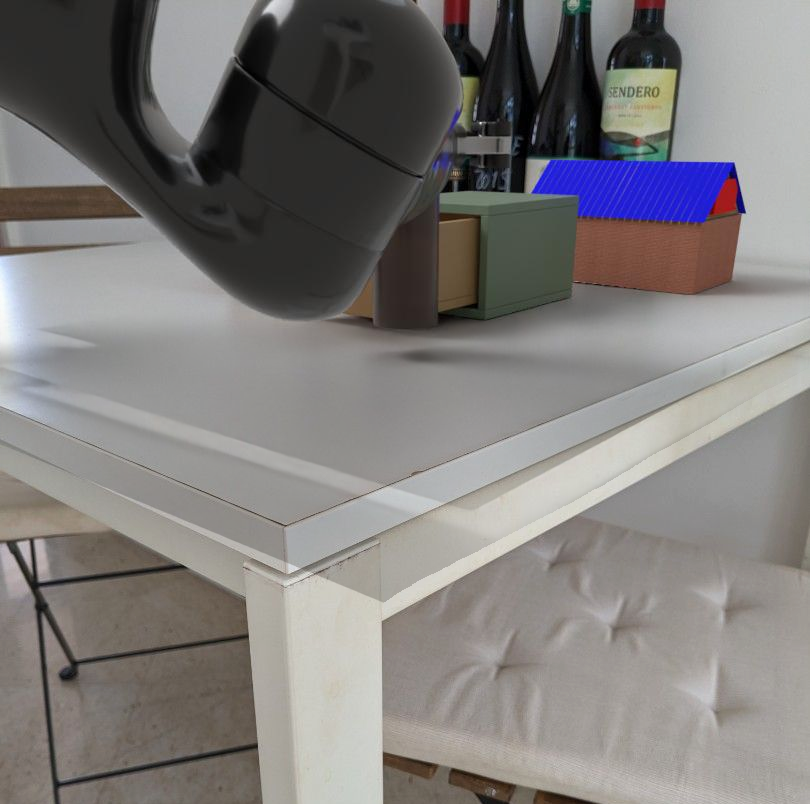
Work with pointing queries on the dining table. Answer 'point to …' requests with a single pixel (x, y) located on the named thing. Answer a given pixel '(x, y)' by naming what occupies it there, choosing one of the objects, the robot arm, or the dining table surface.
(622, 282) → the house
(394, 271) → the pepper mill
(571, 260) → the cabinet
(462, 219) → the drawer
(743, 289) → the dining table surface
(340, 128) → the robot arm
